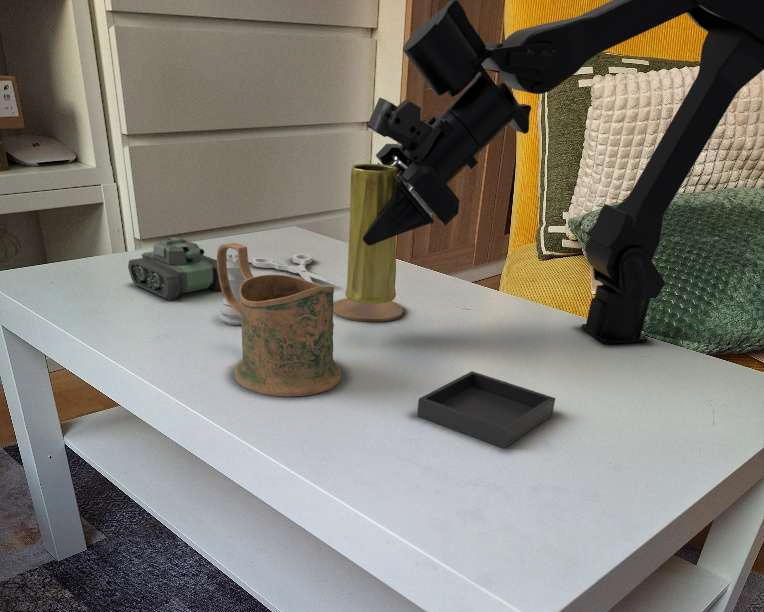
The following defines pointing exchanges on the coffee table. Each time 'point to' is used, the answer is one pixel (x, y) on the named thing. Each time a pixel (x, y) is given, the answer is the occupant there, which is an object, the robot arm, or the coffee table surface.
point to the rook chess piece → (235, 282)
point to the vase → (365, 263)
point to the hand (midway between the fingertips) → (360, 236)
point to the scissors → (299, 269)
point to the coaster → (367, 311)
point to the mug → (282, 331)
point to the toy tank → (174, 269)
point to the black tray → (486, 408)
